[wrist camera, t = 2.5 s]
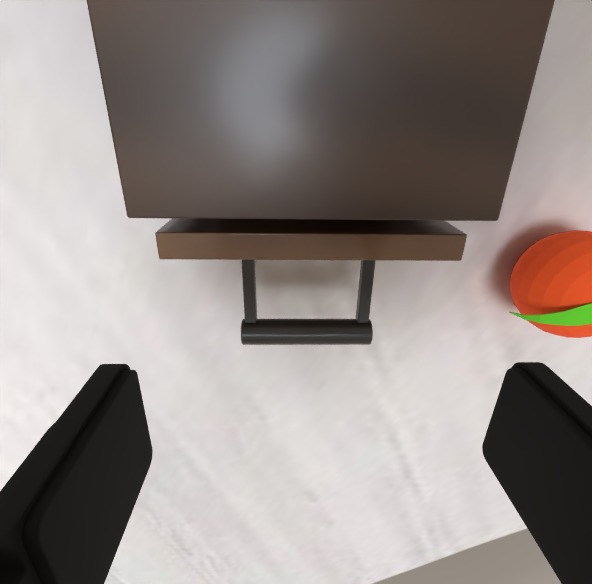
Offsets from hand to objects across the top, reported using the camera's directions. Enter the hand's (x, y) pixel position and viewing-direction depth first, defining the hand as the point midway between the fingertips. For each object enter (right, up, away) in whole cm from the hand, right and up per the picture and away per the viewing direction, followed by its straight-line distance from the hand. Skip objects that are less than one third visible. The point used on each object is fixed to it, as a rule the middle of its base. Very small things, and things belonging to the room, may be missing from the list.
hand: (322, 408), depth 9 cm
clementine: (+17, +5, +18) cm, 25 cm away
